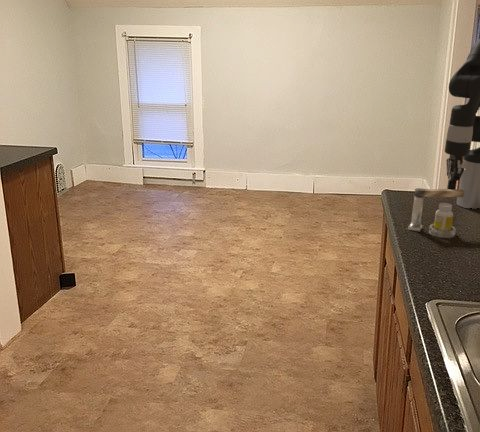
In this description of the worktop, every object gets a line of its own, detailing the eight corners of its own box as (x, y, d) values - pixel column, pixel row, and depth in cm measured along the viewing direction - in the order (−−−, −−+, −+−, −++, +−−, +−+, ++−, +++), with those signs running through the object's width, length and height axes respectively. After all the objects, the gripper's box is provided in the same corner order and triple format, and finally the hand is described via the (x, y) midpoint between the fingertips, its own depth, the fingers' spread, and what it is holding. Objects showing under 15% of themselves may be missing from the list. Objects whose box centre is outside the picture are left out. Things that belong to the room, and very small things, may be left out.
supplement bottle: (450, 231, 185) (454, 203, 181) (450, 237, 180) (454, 208, 177) (433, 229, 186) (437, 201, 183) (432, 235, 181) (436, 206, 178)
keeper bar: (415, 197, 181) (416, 191, 180) (413, 194, 184) (413, 188, 183) (464, 197, 181) (465, 191, 181) (460, 194, 184) (461, 189, 184)
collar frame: (411, 224, 191) (415, 192, 187) (456, 231, 185) (461, 198, 181) (406, 231, 184) (410, 198, 180) (453, 239, 178) (458, 205, 174)
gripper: (477, 144, 172) (468, 198, 178) (465, 135, 185) (457, 185, 191) (451, 143, 173) (443, 196, 179) (442, 134, 185) (434, 184, 191)
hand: (450, 190), depth 185 cm, fingers closed
